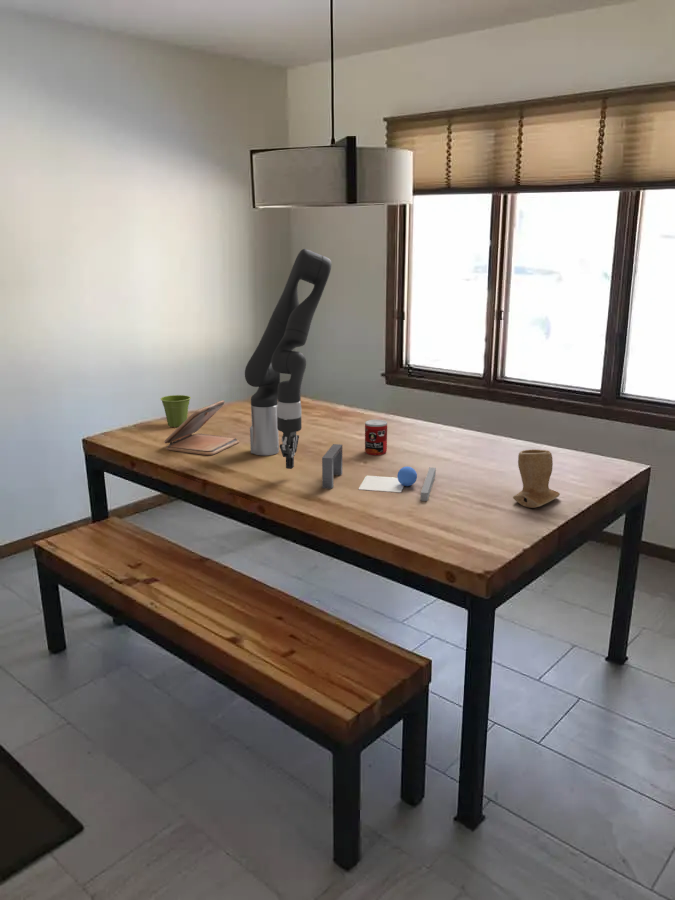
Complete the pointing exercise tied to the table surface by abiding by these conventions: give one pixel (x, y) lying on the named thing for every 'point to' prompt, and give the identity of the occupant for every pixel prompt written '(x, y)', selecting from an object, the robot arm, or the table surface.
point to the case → (199, 442)
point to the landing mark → (381, 484)
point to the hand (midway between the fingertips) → (289, 468)
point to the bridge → (331, 465)
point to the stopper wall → (428, 484)
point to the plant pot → (176, 409)
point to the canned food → (376, 437)
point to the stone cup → (535, 478)
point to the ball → (407, 476)
